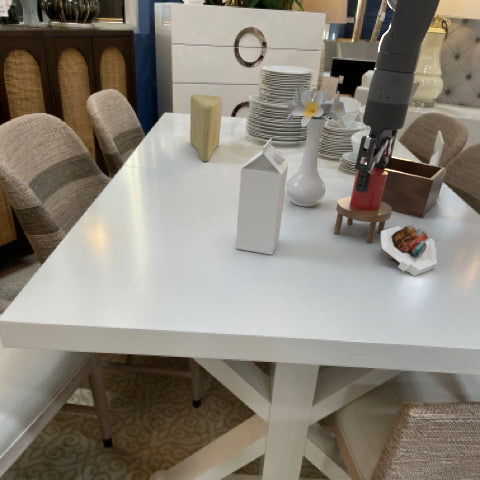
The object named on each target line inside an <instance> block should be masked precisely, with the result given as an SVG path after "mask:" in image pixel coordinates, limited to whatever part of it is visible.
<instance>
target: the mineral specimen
mask: <svg viewBox="0 0 480 480" xmlns="http://www.w3.org/2000/svg"><path fill="white" fill-rule="evenodd" d="M380 245H381V250H383V253H384V254H385V256H386V258H387V259H388V260H391V259H392V260H393V262H394V263H396V261H397V262H398V263H399V265H397V268H398V269H400V270H401V271H402V272H408V273H409V274H411V275H412V276H413V277H416V276H418V275H421V274H423V273H425V272H428V271H430V270H433V269H434V268H435V266H436V265H437V264H438V261H437V260H438V259H437V249H436V241H435V240H434V239H432V238H431V237H430V238H429V237H428V234H427V233H426V230H424V229H423V228H418V229H416V227H414V225H413V224H411V225H405V226H404V227H402V228H401V226H399V225H396V226H392V227H390V228H387V229H384V230H383V231H381V233H380Z"/></svg>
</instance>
